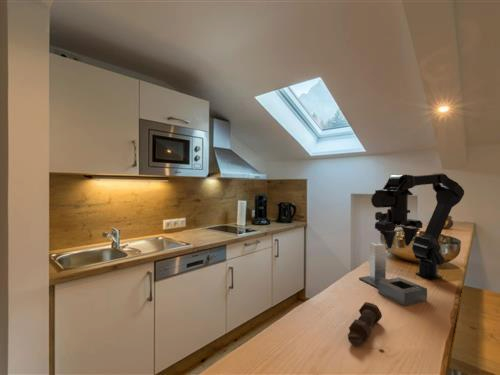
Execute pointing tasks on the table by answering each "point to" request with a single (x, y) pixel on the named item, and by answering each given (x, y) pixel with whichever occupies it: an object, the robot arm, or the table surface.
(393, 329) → the table surface
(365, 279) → the rubber mat
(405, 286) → the socket block
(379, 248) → the steel peg
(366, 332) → the bolt
